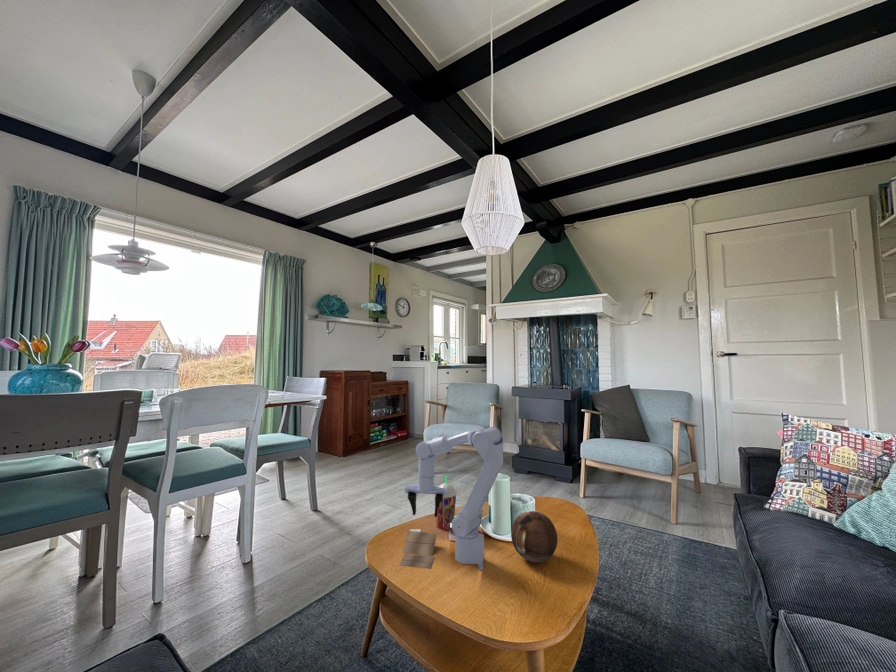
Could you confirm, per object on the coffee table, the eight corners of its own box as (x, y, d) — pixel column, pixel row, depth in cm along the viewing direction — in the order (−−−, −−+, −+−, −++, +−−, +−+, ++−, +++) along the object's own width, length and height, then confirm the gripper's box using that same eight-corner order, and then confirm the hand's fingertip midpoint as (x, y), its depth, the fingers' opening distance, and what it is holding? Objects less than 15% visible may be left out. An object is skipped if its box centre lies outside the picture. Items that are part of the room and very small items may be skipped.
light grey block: (420, 534, 132) (420, 528, 133) (421, 537, 130) (421, 531, 130) (409, 535, 132) (409, 529, 132) (410, 538, 129) (410, 532, 130)
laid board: (434, 561, 114) (434, 556, 114) (431, 573, 108) (431, 568, 108) (404, 558, 116) (404, 553, 116) (399, 570, 109) (399, 565, 109)
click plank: (436, 535, 123) (436, 533, 122) (432, 558, 115) (432, 555, 115) (408, 533, 124) (407, 530, 124) (402, 555, 117) (402, 552, 116)
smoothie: (455, 534, 132) (457, 480, 134) (433, 534, 132) (434, 479, 134) (455, 524, 141) (456, 473, 142) (434, 524, 141) (436, 472, 142)
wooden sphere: (539, 544, 127) (540, 501, 128) (567, 567, 113) (567, 519, 114) (502, 551, 122) (503, 506, 123) (526, 576, 108) (527, 525, 109)
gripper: (447, 473, 129) (446, 511, 128) (408, 470, 131) (407, 508, 130) (445, 479, 122) (444, 520, 121) (404, 476, 124) (402, 517, 123)
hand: (425, 514), depth 125 cm, fingers open, 7 cm apart
